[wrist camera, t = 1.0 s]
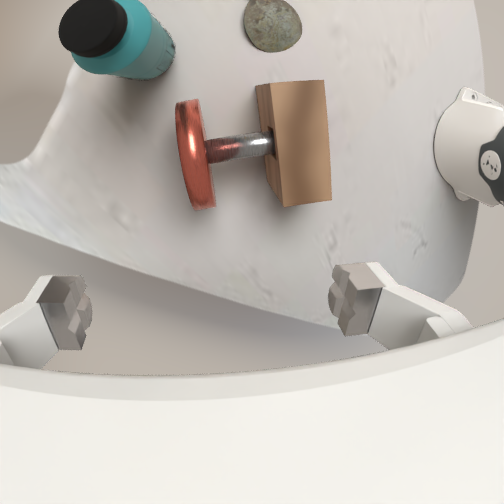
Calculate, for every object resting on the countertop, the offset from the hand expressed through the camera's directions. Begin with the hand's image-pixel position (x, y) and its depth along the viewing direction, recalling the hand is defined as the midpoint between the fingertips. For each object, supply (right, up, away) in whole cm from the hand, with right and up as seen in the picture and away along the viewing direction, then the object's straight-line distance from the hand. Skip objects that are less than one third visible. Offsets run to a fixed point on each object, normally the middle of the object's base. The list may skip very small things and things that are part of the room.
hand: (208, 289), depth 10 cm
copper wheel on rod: (0, +14, +25) cm, 29 cm away
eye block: (+5, +16, +26) cm, 31 cm away
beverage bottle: (-10, +24, +20) cm, 32 cm away
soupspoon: (0, +33, +17) cm, 37 cm away
